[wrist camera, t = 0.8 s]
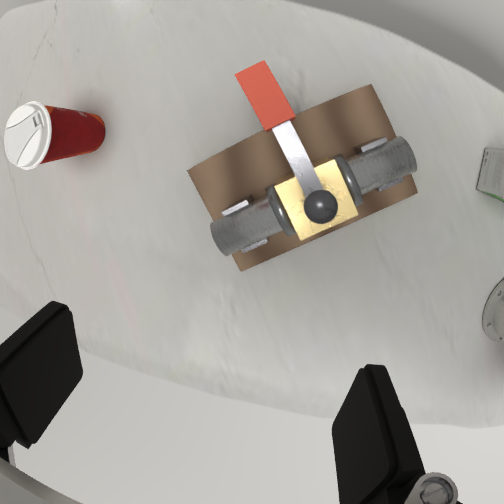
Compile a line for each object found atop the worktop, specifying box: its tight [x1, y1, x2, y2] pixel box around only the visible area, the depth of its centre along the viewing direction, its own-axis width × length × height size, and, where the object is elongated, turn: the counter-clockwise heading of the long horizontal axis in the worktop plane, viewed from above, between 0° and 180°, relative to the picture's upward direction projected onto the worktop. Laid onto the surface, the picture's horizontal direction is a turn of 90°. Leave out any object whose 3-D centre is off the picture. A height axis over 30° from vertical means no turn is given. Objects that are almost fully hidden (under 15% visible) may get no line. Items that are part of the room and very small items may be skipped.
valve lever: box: [235, 60, 338, 224], centre depth 24 cm, size 14×3×3 cm, turn 27°
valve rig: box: [187, 84, 418, 271], centre depth 31 cm, size 24×14×11 cm, turn 117°
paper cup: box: [4, 101, 105, 170], centre depth 31 cm, size 8×8×14 cm
